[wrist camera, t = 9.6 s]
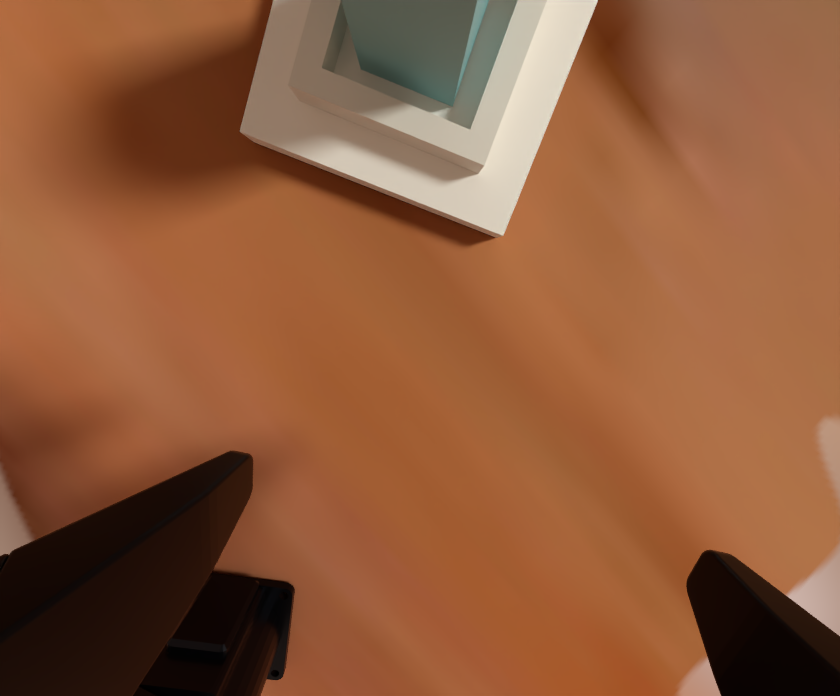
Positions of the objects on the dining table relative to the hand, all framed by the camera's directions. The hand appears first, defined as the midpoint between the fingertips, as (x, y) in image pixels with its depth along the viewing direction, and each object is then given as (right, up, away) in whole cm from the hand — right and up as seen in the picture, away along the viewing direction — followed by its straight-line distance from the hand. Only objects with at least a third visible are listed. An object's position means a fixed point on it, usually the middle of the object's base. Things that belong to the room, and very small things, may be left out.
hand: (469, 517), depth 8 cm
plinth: (-1, +16, +10) cm, 19 cm away
